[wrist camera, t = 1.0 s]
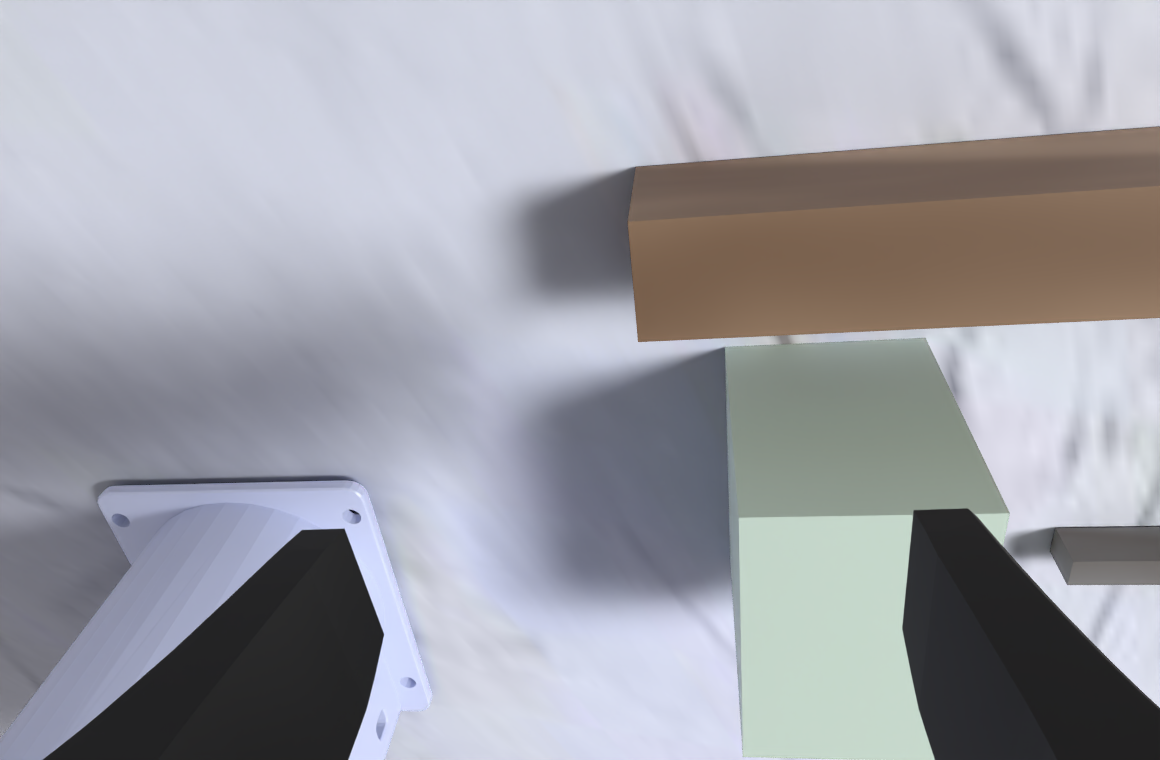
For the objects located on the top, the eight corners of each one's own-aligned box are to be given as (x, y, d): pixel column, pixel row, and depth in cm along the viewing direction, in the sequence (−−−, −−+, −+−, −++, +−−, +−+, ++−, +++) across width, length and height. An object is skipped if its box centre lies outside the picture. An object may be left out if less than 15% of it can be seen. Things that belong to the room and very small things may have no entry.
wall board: (1395, 547, 21) (1492, 644, 18) (666, 554, 24) (664, 639, 21) (1643, 89, 15) (1836, 140, 13) (635, 166, 18) (627, 222, 15)
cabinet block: (896, 572, 23) (954, 776, 18) (730, 573, 24) (743, 770, 19) (924, 336, 19) (1010, 513, 14) (724, 345, 20) (739, 518, 15)
